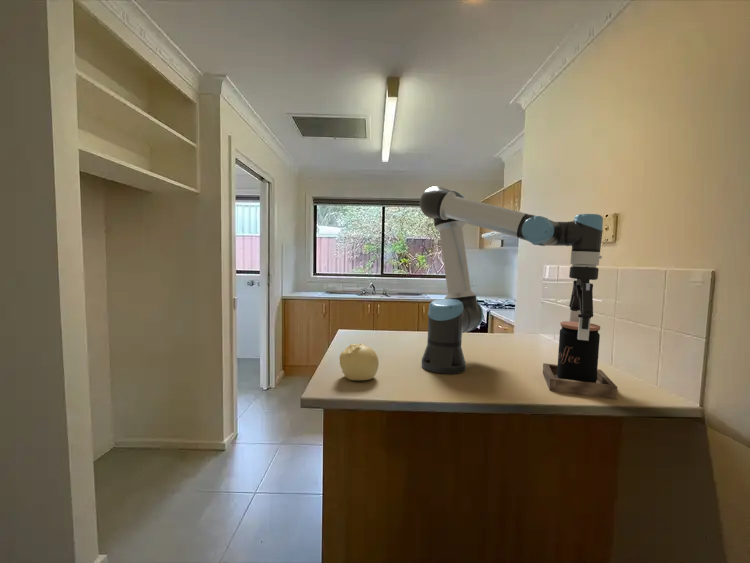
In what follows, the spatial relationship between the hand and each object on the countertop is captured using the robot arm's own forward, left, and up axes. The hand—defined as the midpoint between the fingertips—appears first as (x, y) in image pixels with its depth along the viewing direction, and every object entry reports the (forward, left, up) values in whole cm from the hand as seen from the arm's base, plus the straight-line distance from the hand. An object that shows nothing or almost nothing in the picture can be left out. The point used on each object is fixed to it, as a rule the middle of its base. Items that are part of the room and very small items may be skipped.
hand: (577, 335), depth 110 cm
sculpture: (-64, -21, -16) cm, 69 cm away
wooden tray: (0, 0, -16) cm, 16 cm away
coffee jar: (0, 0, -15) cm, 15 cm away
